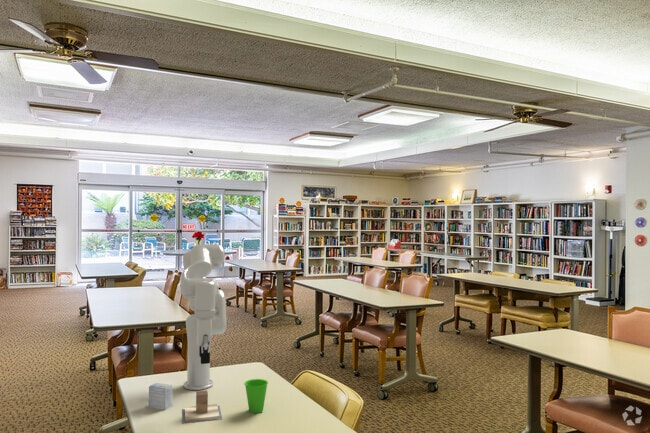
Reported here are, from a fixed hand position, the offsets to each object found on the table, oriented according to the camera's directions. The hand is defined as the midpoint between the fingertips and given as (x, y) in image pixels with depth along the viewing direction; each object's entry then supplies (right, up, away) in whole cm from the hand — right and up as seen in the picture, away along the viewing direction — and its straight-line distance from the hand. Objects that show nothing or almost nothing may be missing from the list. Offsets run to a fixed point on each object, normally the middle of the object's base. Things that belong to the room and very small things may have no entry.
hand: (204, 359), depth 180 cm
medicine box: (-19, -21, +7) cm, 29 cm away
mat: (-1, -21, 0) cm, 21 cm away
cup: (+19, -21, +3) cm, 28 cm away
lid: (-1, -20, 0) cm, 20 cm away
